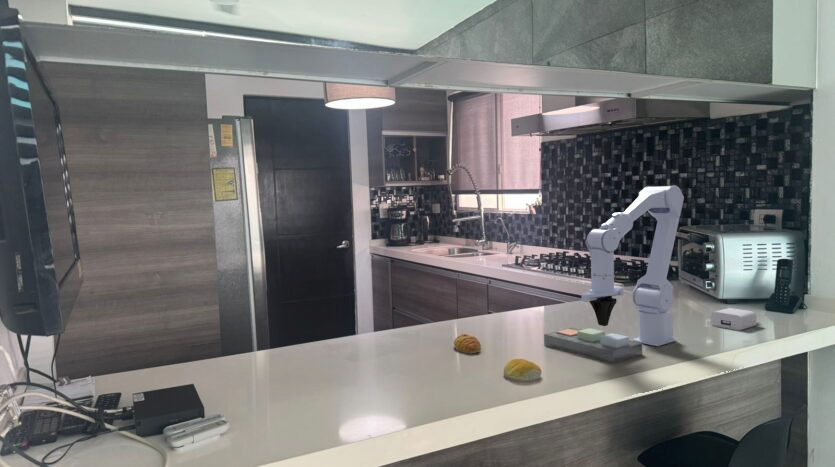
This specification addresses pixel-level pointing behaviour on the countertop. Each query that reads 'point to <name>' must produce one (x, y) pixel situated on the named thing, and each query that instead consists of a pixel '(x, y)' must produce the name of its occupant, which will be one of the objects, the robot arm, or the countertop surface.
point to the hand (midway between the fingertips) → (603, 325)
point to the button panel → (592, 347)
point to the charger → (733, 318)
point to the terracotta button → (568, 332)
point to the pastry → (467, 344)
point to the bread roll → (522, 370)
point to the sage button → (590, 334)
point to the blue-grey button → (614, 340)
